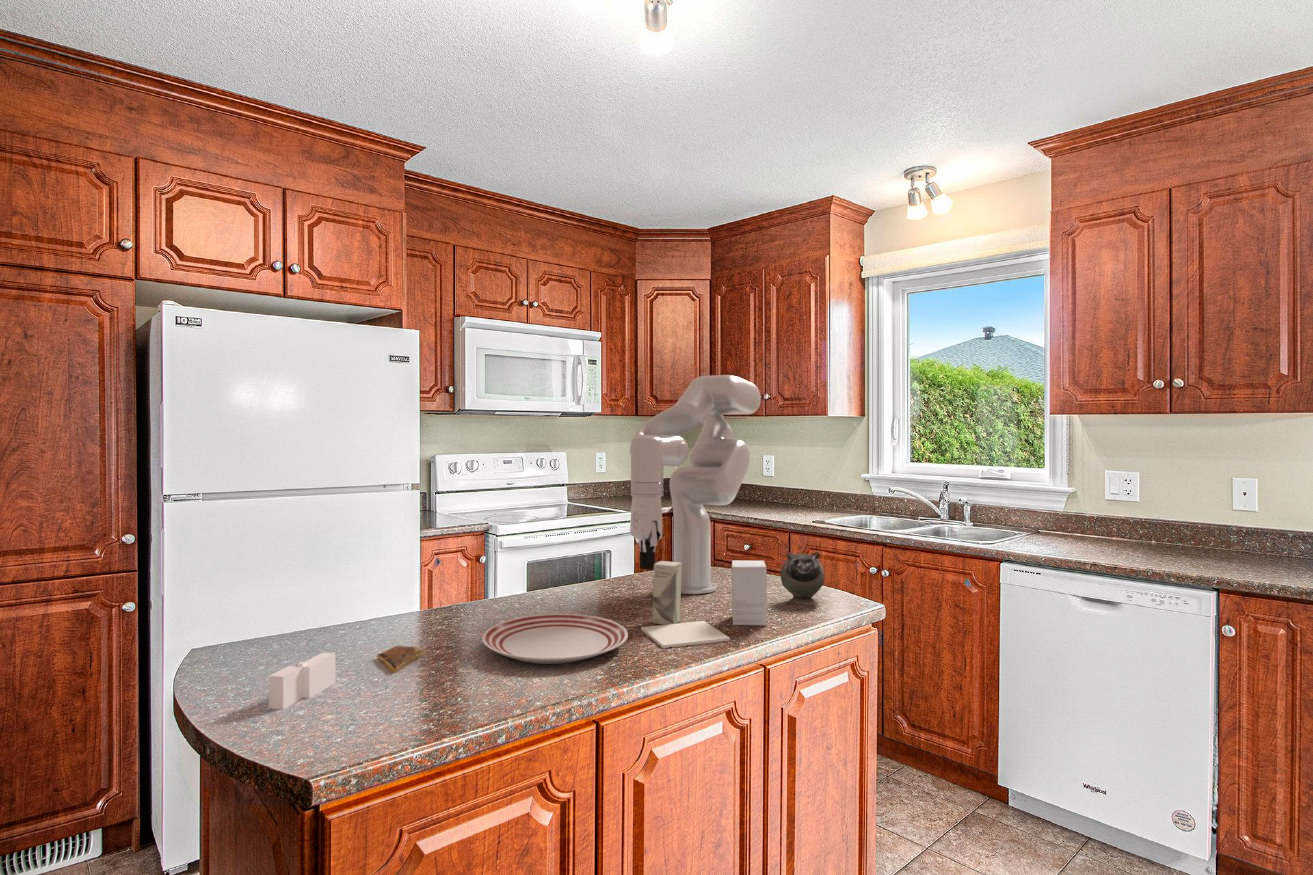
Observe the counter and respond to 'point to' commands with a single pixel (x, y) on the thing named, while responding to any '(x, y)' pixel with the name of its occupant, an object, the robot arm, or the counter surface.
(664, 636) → the beige flat slab
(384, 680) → the counter surface
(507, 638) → the dinner plate
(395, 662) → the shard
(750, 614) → the supplement box
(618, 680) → the counter surface
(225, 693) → the counter surface
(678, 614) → the box
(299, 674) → the pink notched block
